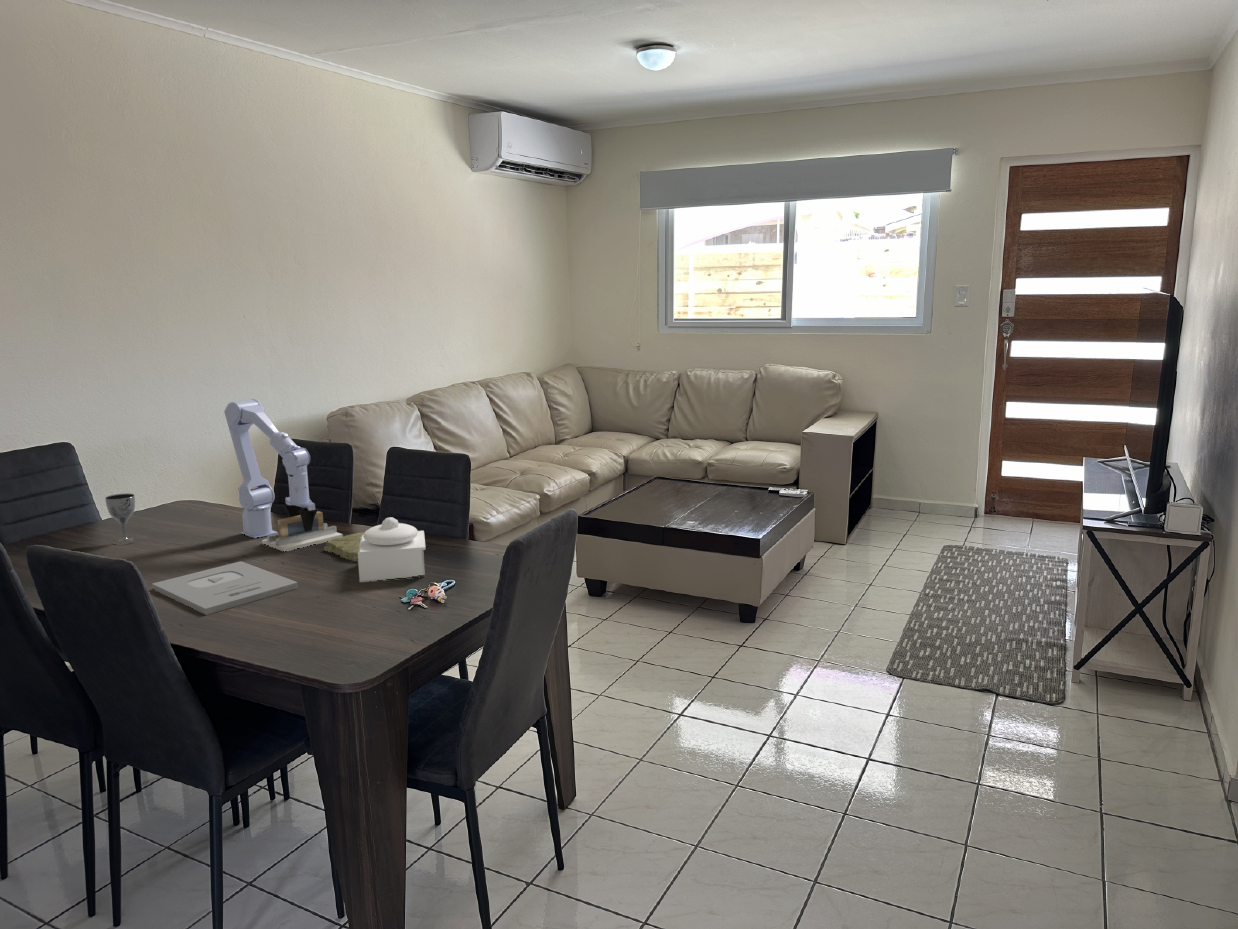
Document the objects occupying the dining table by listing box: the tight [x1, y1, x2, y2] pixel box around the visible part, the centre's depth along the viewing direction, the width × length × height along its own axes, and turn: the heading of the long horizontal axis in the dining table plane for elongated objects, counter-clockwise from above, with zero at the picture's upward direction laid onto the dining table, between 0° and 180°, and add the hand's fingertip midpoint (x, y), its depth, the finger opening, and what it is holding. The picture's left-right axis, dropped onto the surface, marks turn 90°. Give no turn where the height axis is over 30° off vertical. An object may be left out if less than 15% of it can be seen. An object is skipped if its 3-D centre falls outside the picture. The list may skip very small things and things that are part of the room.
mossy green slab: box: [323, 531, 366, 562], centre depth 259 cm, size 19×20×4 cm
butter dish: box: [357, 516, 426, 583], centre depth 239 cm, size 18×18×16 cm
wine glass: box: [105, 492, 136, 541], centre depth 268 cm, size 8×8×15 cm
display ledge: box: [261, 522, 344, 553], centre depth 269 cm, size 14×20×3 cm
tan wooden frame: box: [277, 510, 324, 538], centre depth 268 cm, size 3×14×7 cm, turn 139°
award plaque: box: [151, 560, 299, 616], centre depth 225 cm, size 25×30×2 cm
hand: (302, 528), depth 269 cm, fingers open, 7 cm apart
